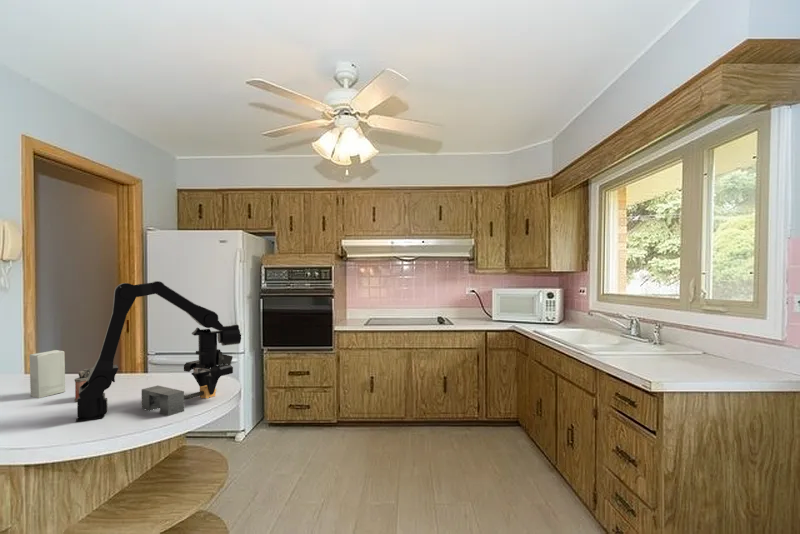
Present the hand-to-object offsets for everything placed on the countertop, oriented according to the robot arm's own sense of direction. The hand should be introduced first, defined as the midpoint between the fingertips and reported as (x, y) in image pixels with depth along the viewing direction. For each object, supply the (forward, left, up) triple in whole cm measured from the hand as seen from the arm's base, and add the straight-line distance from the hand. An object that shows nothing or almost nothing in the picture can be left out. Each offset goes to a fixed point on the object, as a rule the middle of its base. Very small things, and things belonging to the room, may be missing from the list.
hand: (208, 393), depth 142 cm
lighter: (-36, +20, -1) cm, 41 cm away
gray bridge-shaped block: (-13, -8, -1) cm, 16 cm away
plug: (-4, -2, -1) cm, 5 cm away
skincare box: (-49, +34, -1) cm, 59 cm away
